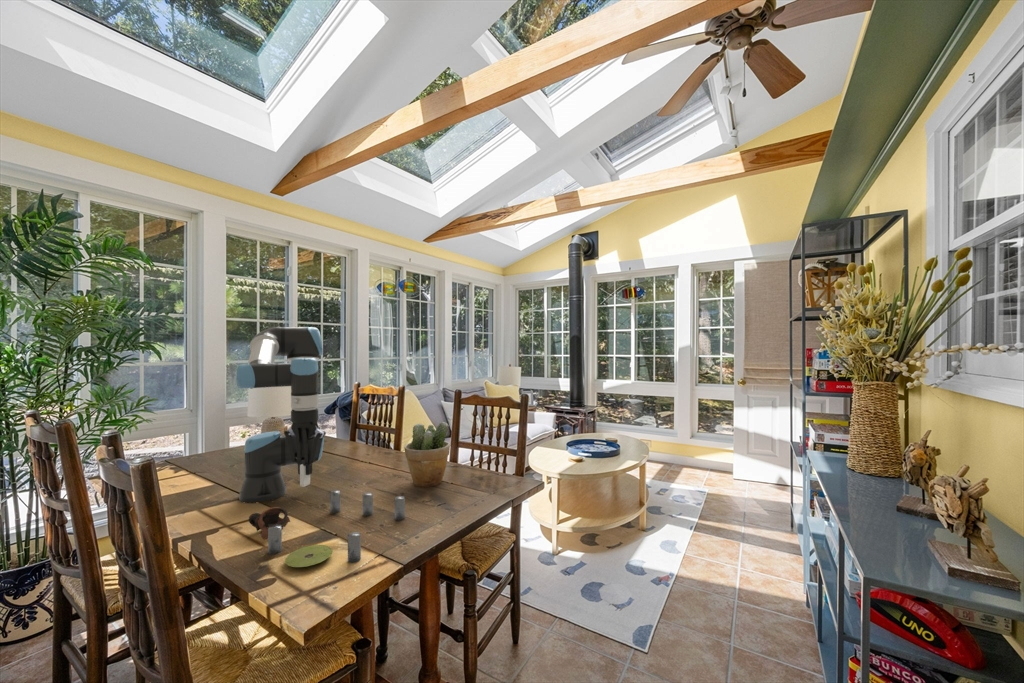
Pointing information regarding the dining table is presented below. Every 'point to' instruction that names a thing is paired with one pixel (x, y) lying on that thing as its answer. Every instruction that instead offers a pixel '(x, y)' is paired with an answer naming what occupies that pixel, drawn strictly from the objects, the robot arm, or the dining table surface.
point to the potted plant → (428, 454)
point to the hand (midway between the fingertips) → (305, 484)
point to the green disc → (308, 556)
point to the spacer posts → (335, 507)
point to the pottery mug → (268, 519)
